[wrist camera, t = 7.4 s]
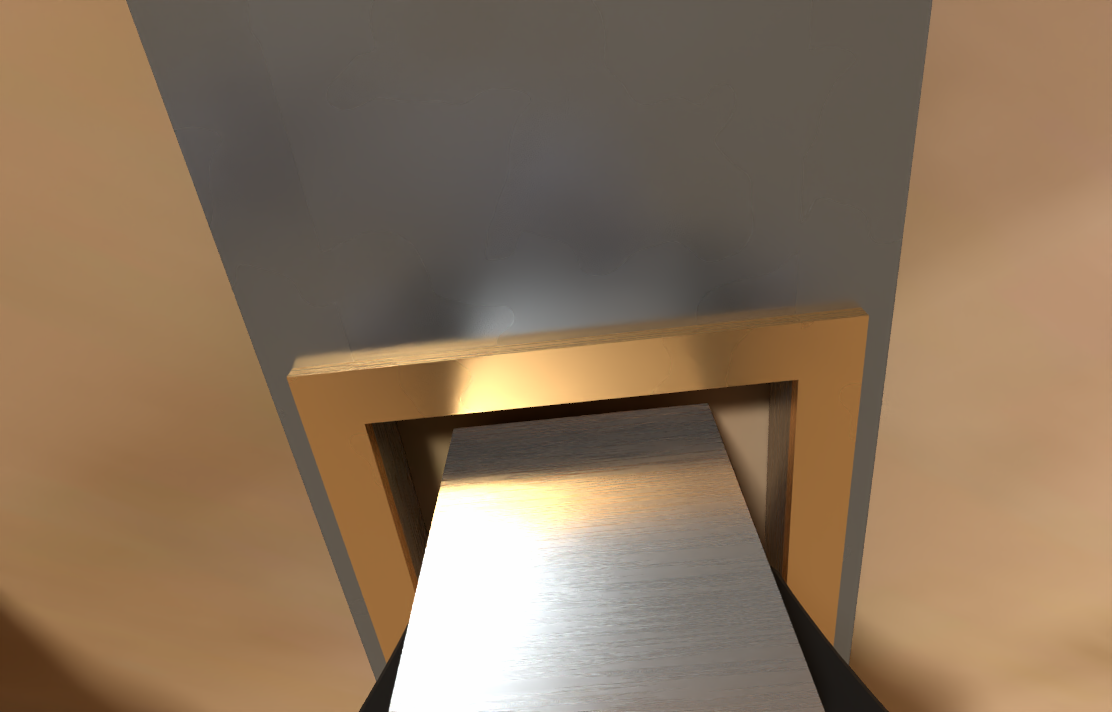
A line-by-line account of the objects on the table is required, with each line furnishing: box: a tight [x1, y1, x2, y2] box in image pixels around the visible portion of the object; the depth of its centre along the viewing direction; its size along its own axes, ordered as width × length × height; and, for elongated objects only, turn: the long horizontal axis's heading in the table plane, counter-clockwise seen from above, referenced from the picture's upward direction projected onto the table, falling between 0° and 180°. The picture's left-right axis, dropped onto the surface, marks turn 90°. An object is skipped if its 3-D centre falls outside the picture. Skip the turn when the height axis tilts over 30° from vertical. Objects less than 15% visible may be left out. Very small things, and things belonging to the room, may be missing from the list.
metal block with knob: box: [389, 403, 825, 712], centre depth 10 cm, size 4×4×6 cm
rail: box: [126, 0, 932, 682], centre depth 10 cm, size 10×26×2 cm, turn 7°
